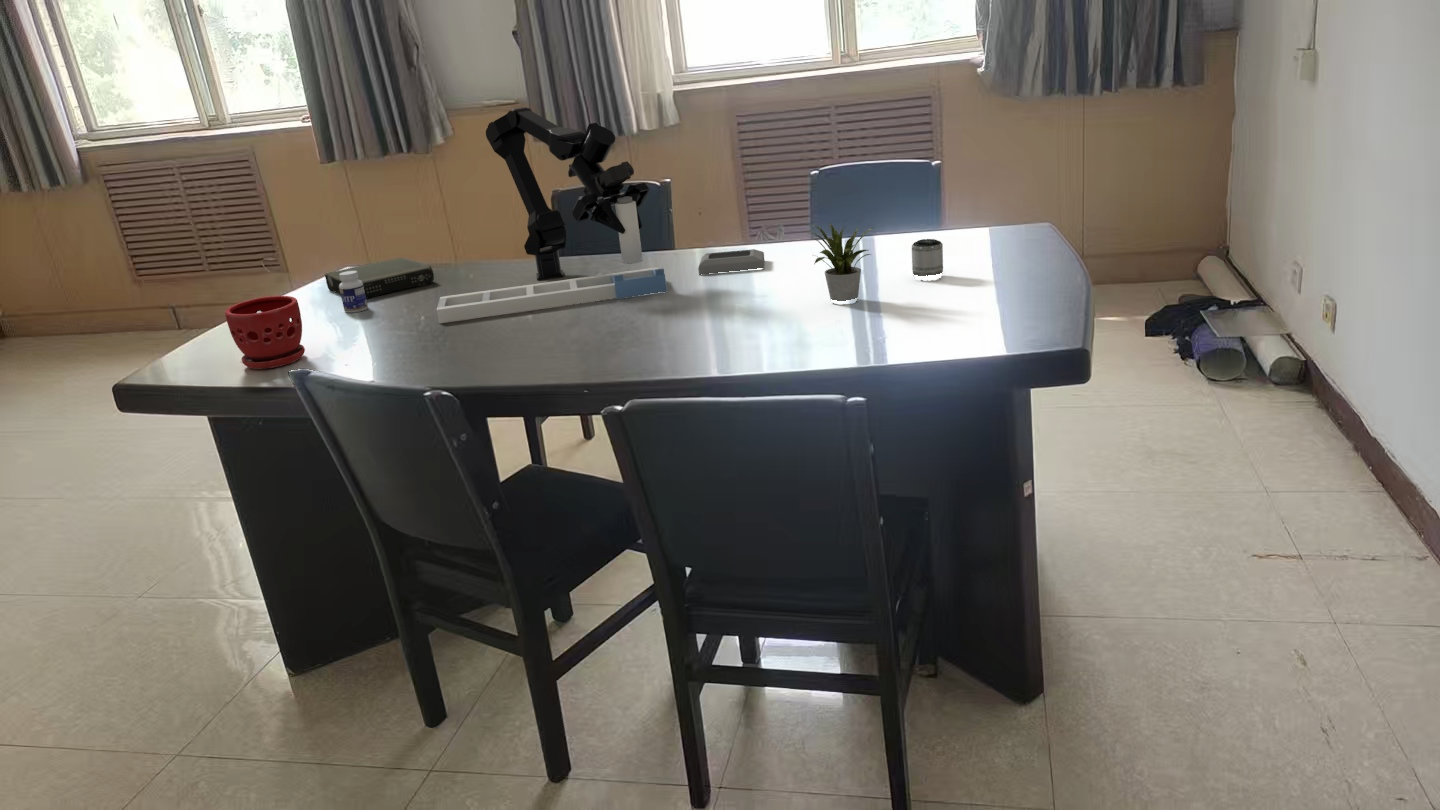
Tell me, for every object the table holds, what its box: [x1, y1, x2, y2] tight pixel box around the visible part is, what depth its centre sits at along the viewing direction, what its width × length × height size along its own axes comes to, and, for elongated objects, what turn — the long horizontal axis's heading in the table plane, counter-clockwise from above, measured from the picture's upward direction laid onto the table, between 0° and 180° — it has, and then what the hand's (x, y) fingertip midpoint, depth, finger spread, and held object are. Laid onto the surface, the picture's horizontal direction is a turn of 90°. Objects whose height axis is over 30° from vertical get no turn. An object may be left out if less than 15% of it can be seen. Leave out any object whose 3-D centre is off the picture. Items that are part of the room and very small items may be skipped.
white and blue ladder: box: [436, 266, 668, 324], centre depth 222 cm, size 13×49×5 cm, turn 101°
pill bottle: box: [339, 271, 369, 314], centre depth 232 cm, size 5×5×9 cm
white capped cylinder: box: [614, 197, 644, 265], centre depth 221 cm, size 4×4×14 cm
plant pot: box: [224, 295, 306, 370], centre depth 196 cm, size 13×13×12 cm
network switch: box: [324, 257, 435, 300], centre depth 255 cm, size 23×24×5 cm
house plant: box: [808, 219, 876, 301], centre depth 197 cm, size 14×14×16 cm
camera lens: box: [911, 238, 944, 276], centre depth 209 cm, size 6×6×8 cm
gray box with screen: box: [697, 248, 765, 276], centre depth 236 cm, size 10×4×15 cm
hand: (632, 230), depth 220 cm, fingers closed on white capped cylinder, 4 cm apart
